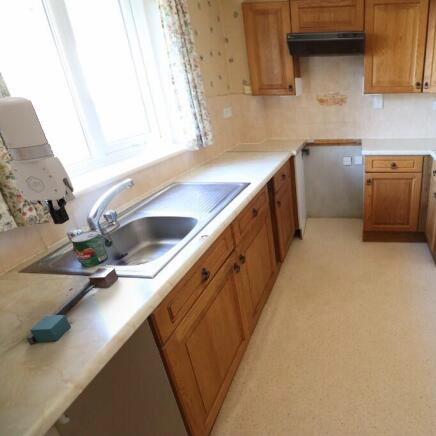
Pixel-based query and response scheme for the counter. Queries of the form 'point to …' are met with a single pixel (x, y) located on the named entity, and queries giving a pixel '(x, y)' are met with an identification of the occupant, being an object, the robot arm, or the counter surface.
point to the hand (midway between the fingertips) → (62, 221)
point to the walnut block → (103, 278)
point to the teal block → (50, 328)
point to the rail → (67, 306)
